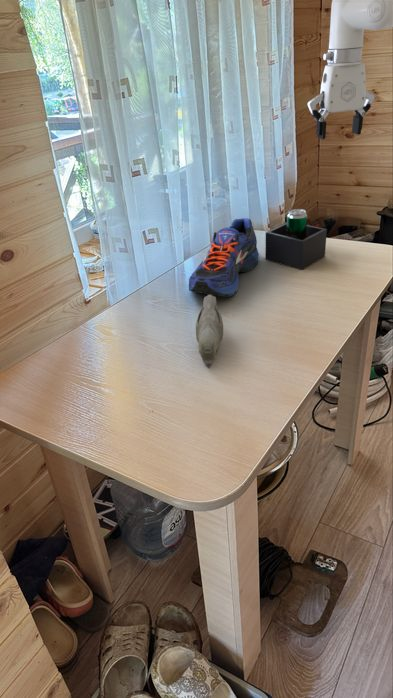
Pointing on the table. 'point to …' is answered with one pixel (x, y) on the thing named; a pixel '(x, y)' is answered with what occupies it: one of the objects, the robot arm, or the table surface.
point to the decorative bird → (209, 330)
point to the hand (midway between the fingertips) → (338, 135)
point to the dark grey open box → (295, 247)
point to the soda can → (297, 224)
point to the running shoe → (226, 260)
